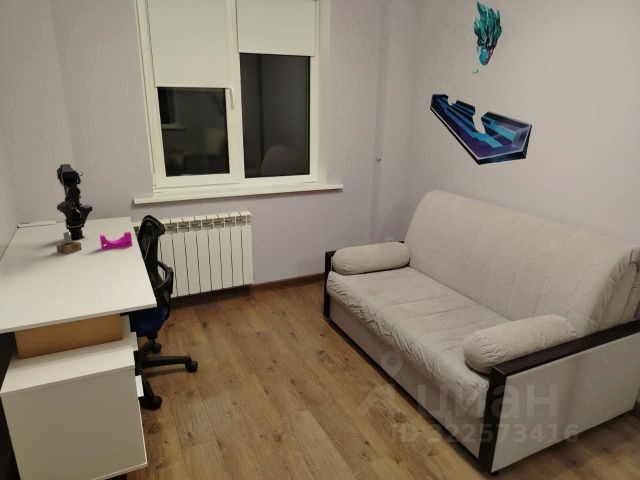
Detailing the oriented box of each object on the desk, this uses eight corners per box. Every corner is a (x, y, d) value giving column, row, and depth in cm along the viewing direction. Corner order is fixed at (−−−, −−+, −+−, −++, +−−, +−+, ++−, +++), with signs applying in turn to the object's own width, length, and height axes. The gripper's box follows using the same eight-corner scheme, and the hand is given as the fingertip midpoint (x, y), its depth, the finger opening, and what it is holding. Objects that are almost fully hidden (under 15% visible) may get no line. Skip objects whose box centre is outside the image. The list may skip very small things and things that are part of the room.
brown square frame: (57, 252, 231) (56, 245, 230) (70, 248, 239) (68, 241, 238) (69, 254, 229) (68, 246, 228) (81, 249, 236) (80, 242, 235)
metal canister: (64, 251, 233) (61, 233, 230) (69, 249, 236) (66, 231, 233) (69, 252, 232) (66, 233, 229) (74, 250, 235) (71, 232, 232)
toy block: (130, 243, 249) (128, 230, 247) (132, 246, 244) (131, 233, 242) (100, 247, 241) (99, 234, 239) (102, 250, 236) (100, 236, 234)
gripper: (45, 196, 229) (50, 225, 233) (74, 198, 223) (78, 228, 228) (63, 192, 239) (68, 220, 243) (91, 194, 233) (95, 223, 238)
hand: (76, 223), depth 238 cm, fingers open, 9 cm apart
